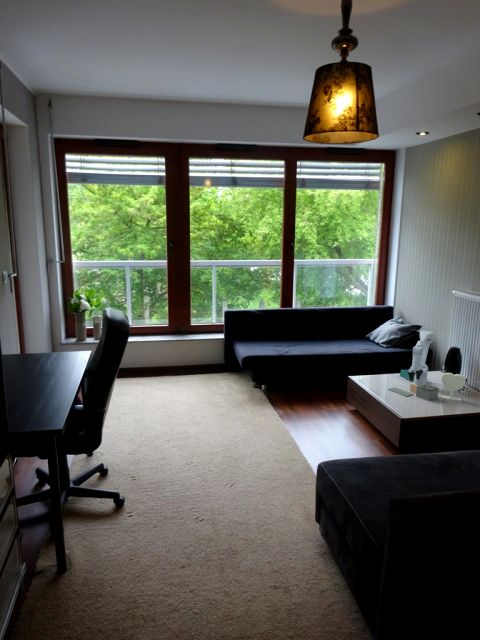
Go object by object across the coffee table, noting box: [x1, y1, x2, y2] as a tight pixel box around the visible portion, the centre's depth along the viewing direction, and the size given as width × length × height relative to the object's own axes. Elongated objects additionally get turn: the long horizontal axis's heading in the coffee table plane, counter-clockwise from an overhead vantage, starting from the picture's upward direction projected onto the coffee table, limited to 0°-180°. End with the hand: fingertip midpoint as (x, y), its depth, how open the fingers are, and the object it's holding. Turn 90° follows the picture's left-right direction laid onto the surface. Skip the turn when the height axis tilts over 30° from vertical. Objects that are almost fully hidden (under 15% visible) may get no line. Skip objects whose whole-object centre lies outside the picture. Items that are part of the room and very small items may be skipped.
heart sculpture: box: [440, 372, 466, 401], centre depth 326 cm, size 16×5×18 cm, turn 64°
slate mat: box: [388, 387, 414, 398], centre depth 335 cm, size 8×16×1 cm, turn 34°
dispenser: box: [415, 383, 439, 401], centre depth 327 cm, size 11×11×8 cm
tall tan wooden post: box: [409, 383, 418, 394], centre depth 333 cm, size 2×12×6 cm, turn 34°
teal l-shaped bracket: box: [399, 369, 428, 383], centre depth 366 cm, size 18×11×10 cm, turn 17°
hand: (414, 380), depth 335 cm, fingers open, 7 cm apart
